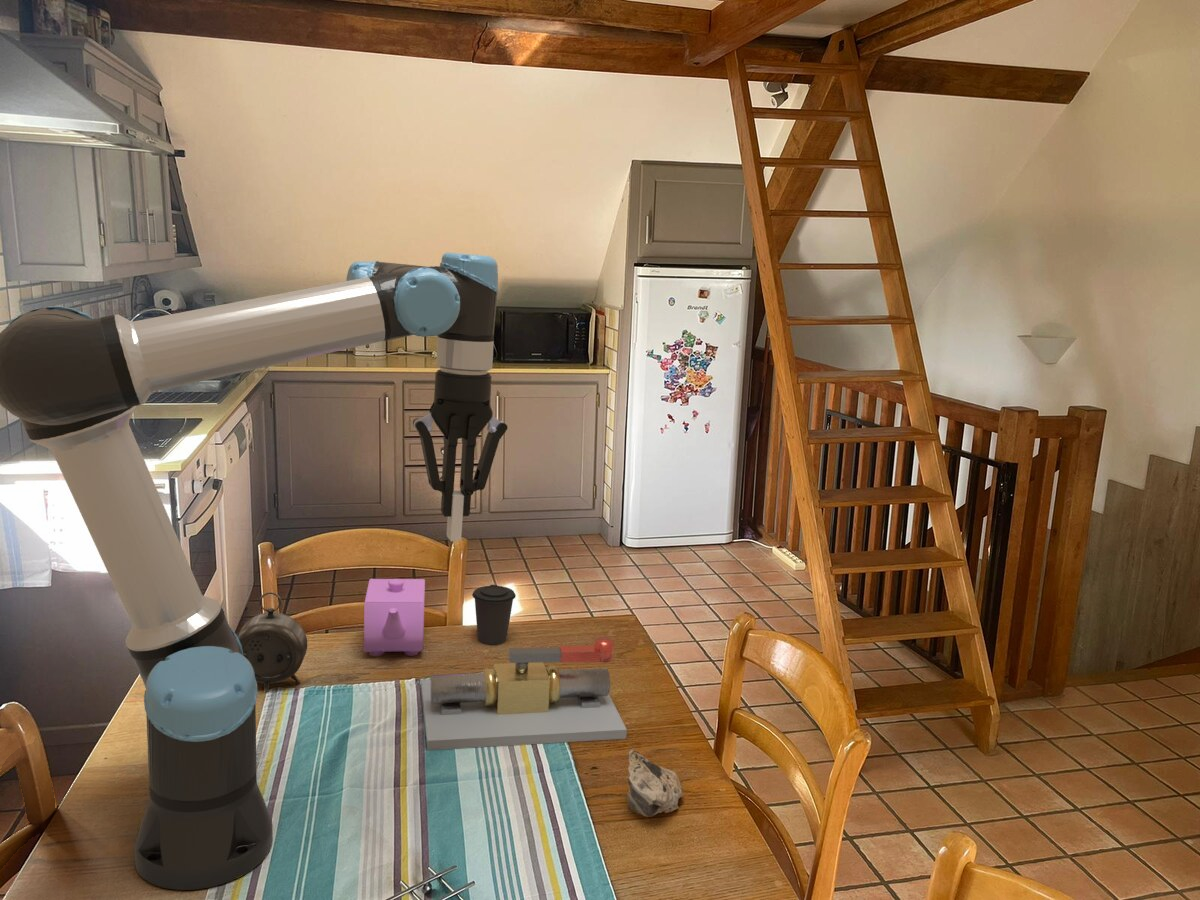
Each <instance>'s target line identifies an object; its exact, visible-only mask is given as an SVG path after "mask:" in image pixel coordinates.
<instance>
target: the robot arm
mask: <svg viewBox="0 0 1200 900" xmlns="http://www.w3.org/2000/svg"><path fill="white" fill-rule="evenodd" d="M498 268H499V267H498V263H497V260H496V259H495V258H494V257H492V256H489V255H479V254H470V253H456V252H446V253H444V254H443V255H442V256H441V262H440V263H439V266H438V265H436V266H424V265H417V264H408V263H407V264H405V263H396V262H395V263H394V262H385V261H383V262H382V261H379V260H373V261H364V260H363V261H354V262H352V263H351V264H350V266H349V268H348V270H347V273H346V280H344V281H340V282H335V283H330V284H324V285H319V286H314V287H309V288H305V289H298V290H292V291H286V292H283V293H282V292H281V293H278V294H273V295H266V296H262V297H261V296H260V297H255V298H250V299H245V300H239V301H234V302H228V303H224V304H220V305H219V304H218V305H213V306H207V307H202V308H197V309H192V310H187V311H182V312H177V313H171V314H166V315H160V316H156V317H150V318H145V319H139V320H135V321H132V320H129V319H127V317H124V316H122V315H120V314H118V313H117V314H112V315H107V316H106V315H105V316H101V317H92V316H90V315H89V314H88V313H85V312H83V311H81V310H77V309H75V308H72V307H65V306H59V305H57V306H54V305H51V306H50V305H49V306H45V307H44V306H43V307H38V308H36V307H35V308H33V309H32V310H28V311H25V312H23V313H21V314H19V315H18V316H16V317H14V319H12V320H11V321H10V322H9V323H8V325H7V326H5V327H4V329H3V330H1V331H0V406H1V407H2V408H4V409H5V410H6V411H7V412H9V413H10V414H12V415H13V416H15V417H17V418H18V419H19V420H20V422H21V423H22V425H23V428H24V430H25V432H26V434H27V436H28V439H29V441H30V442H31V443H34V444H37V445H39V446H41V447H44V448H48V450H50V451H51V452H52V455H53V457H54V460H55V461H56V463H57V465H58V468H59V470H60V472H61V474H62V476H63V478H64V481H65V483H66V485H67V487H68V489H69V491H70V493H71V495H72V497H73V500H74V502H75V505H76V506H77V508H78V511H79V513H80V515H81V517H82V519H83V522H84V524H85V525H86V528H87V530H88V533H89V534H90V537H91V539H92V541H93V543H94V546H95V548H96V549H97V552H98V554H99V556H100V558H101V560H102V562H103V564H104V568H105V569H106V572H107V574H108V576H109V578H110V581H111V582H112V583H113V586H114V589H115V591H116V593H117V596H118V597H119V599H120V601H121V603H122V606H123V608H124V610H125V612H126V614H127V617H128V619H129V621H130V623H131V625H132V626H131V628H130V630H129V631H128V633H127V636H126V638H125V645H126V647H127V649H128V652H129V653H130V656H131V658H132V660H133V662H134V664H135V668H136V669H137V671H138V673H139V675H140V677H141V680H142V682H143V684H144V686H145V690H144V695H143V704H144V712H145V714H146V734H147V739H146V740H147V741H146V742H147V763H148V764H147V765H148V784H149V785H148V786H149V791H148V792H149V798H148V803H147V805H146V808H145V811H144V814H143V817H142V820H141V823H140V826H139V830H138V831H137V834H136V839H135V844H134V860H135V861H134V862H135V863H134V864H135V868H136V869H135V870H136V871H137V873H138V874H139V876H140V877H142V879H144V880H145V881H146V882H148V883H150V884H151V885H153V886H156V887H160V888H163V889H167V890H169V889H170V890H177V891H192V890H193V891H194V890H201V889H207V888H213V887H216V886H219V885H223V884H226V883H229V882H232V881H233V880H236V879H238V878H240V877H242V876H244V875H246V874H247V873H249V872H251V871H252V870H254V869H255V868H256V867H258V866H259V865H260V864H261V863H262V862H263V861H264V860H265V859H266V857H267V856H268V854H269V853H270V852H271V850H272V846H273V841H274V839H273V836H274V833H273V829H274V828H273V821H272V816H271V814H270V812H269V808H268V806H267V804H266V801H265V799H264V796H263V795H262V791H261V790H260V787H259V784H258V781H257V778H258V777H257V775H258V773H257V767H258V766H257V720H256V719H257V717H256V716H257V714H256V713H257V711H256V709H257V708H256V703H257V698H258V682H256V679H255V674H254V670H253V667H252V665H251V663H250V662H249V661H248V660H247V659H246V658H245V657H244V656H243V650H242V646H241V643H240V641H239V639H238V634H236V632H234V630H233V628H232V627H230V624H229V622H228V619H227V617H226V615H225V612H224V611H223V608H222V605H221V603H220V602H219V601H218V600H217V599H215V598H212V597H210V596H205V595H203V594H202V591H201V589H200V587H199V584H198V582H197V580H196V578H195V575H194V572H193V570H192V568H191V566H190V564H189V561H188V558H187V557H186V554H185V552H184V550H183V547H182V544H181V542H180V540H179V538H178V536H177V533H176V531H175V529H174V526H173V524H172V522H171V521H172V520H170V517H169V515H168V512H167V510H166V508H165V506H164V503H163V500H162V498H161V495H160V494H159V491H158V489H157V487H156V485H155V482H154V480H153V477H152V475H151V473H150V470H149V468H148V466H147V463H146V461H145V459H144V456H143V454H142V452H141V449H140V447H139V445H138V443H137V440H136V438H135V435H134V433H133V431H132V428H131V426H130V420H131V418H132V416H133V414H134V412H135V410H136V407H137V406H141V405H145V403H146V402H147V401H148V399H149V398H150V396H151V395H152V394H153V393H155V392H160V391H163V390H168V389H173V388H174V389H175V388H177V387H182V386H186V385H191V384H195V383H199V382H205V381H209V380H214V379H218V378H222V377H227V376H231V375H232V376H233V375H235V374H240V373H241V374H242V373H244V372H249V371H254V370H259V369H262V368H268V367H272V366H276V365H281V364H285V363H289V362H295V361H299V360H303V359H304V360H305V359H307V358H313V357H317V356H321V355H325V354H330V353H334V352H335V353H336V352H339V351H343V350H348V349H353V348H358V347H362V346H366V345H371V344H375V343H379V342H385V341H391V340H397V339H400V338H401V339H402V338H406V337H411V336H415V337H424V338H426V337H435V336H437V347H436V357H435V359H436V361H435V365H436V366H437V367H439V369H438V370H436V372H434V373H435V376H434V393H433V394H434V395H433V402H432V404H431V406H430V408H429V413H427V414H426V415H424V416H422V417H421V418H415V419H413V420H412V425H413V427H414V428H415V431H416V432H417V433H418V435H419V439H420V444H421V448H422V449H421V450H422V455H423V459H424V465H425V470H426V475H427V480H428V484H429V486H430V487H431V489H433V490H434V491H437V492H440V493H441V504H440V512H441V514H442V516H443V517H447V520H446V521H447V522H446V537H447V538H448V540H449V541H450V542H462V533H463V521H464V520H463V518H464V517H469V516H470V514H471V502H472V500H471V499H472V496H473V494H474V492H476V491H483V490H484V489H485V487H486V485H487V482H488V478H489V476H490V472H491V469H492V465H493V463H494V459H495V456H496V454H497V453H496V452H497V449H498V447H499V446H498V445H499V442H500V440H501V439H502V437H503V436H504V435H505V433H507V431H508V425H507V424H506V423H505V422H504V421H502V420H500V419H498V418H496V417H495V416H493V414H494V413H493V410H492V407H491V402H490V401H491V391H492V389H491V388H492V375H491V374H490V373H489V372H490V370H492V369H493V360H494V359H493V358H494V343H495V342H494V339H495V324H496V323H495V322H496V312H497V302H498V301H497V300H498V294H499V290H498V289H499V286H498V285H499V282H498V281H499V273H498V272H499V270H498ZM433 422H434V423H435V425H436V426H437V427H438V429H439V431H440V432H441V434H442V435H443V454H442V468H441V469H442V474H441V477H440V473H439V468H438V462H437V458H436V456H437V455H436V453H435V447H434V441H433V437H432V435H431V432H432V431H433ZM486 426H487V427H486ZM485 427H486V428H487V431H488V432H487V434H486V437H485V440H484V443H483V447H482V450H481V453H480V456H479V459H478V463H477V466H476V469H475V470H474V466H475V454H476V453H475V452H476V446H477V437H478V436H479V434H480V433H482V431H483V430H484V428H485ZM459 439H461V444H462V445H461V461H460V480H459V488H460V490H455V476H456V475H455V474H456V460H457V446H458V441H459ZM474 471H475V472H474ZM440 478H441V479H440Z"/></svg>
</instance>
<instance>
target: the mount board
mask: <svg viewBox="0 0 1200 900" xmlns="http://www.w3.org/2000/svg"><path fill="white" fill-rule="evenodd" d="M430 680H431V678H430V679H421V680H420V683H421V684H420V694H421V702H422V703H421V704H422V712H423V720H424V721H423V723H424V731H425V734H424V735H425V743H426V750H427V751H437V750H438V751H439V750H440V751H441V750H452V749H453V750H454V749H470V748H471V749H472V748H487V747H505V746H506V747H507V746H523V745H541V744H557V743H577V742H594V741H606V740H607V741H611V740H626V739H627V735H628V734H627V732H628V730H627V727H626V725H625V723H624V721H623V720H622V717H621V715H620V713H619V712H618V709H617V707H616V705H615V704H614V701H613V700H612V698H611V696H610V694H609V695H608V696H598V698H599V700H600V707H597V708H581V706H580V703H579V701H578V699H577V697H575V698H560V699H559V702H558V703H549V707H548V712H540V713H520V714H500V715H497V712H496V708H495V706H484V704H483V702H469V703H460V704H461V714H456V715H441V709H440V704H431V699H430Z"/></svg>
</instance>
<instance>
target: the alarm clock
mask: <svg viewBox="0 0 1200 900" xmlns="http://www.w3.org/2000/svg"><path fill="white" fill-rule="evenodd" d="M267 595H273V596H276V597H277V599H278V600H279V601H278V602H279V604H278V606H277V607H275V608H273V607H269V608H267V609H266V608H265V607H264V606H263V604H262V599H263V598H264V597H265V596H267ZM258 602H259V607H260V608H261V610H263V611H265V612H262V613H259V614H257V615H254V616H253V617H251V618H250V619H249V620H248V621H246V622H245V624H244V625H243V626H242V627H241V629H240V631H239V633H238V634H237V637H238V639H239V641H240V643H241V646H242V650H243V656H244V657H245V658H246V659H247V660H248V661H249V662H250V663H251V665H252V667H253V670H254V674H255V679H256V683H260V684H264V688H263V689H264V690H263V691H264V692H265V693H267V692H269V690H270V689H269V688H270V684H272V685H273V684H277V683H281V682H284V681H286V680H288V679H290V678H291V679H292V680H293V681H294V683H295V684H296V685H299V684H300V679H298V677H297V675H296V673H297V672H298V671H299V669H300V668H301V666H302V663H303V661H304V658H305V656H306V654H307V651H308V638H307V635H306V632H305V630H304V629H303V627H302V626H301V624H300V623H299V622H298V621H296V620H295V619H294V618H293V617H291V616H289V615H286V614H284V613H279V612H276V611H277V610H278V609H279V608H281V605H282V598H281V597H280V595H279V594H278V593H276V592H273V591H268V592H265V593H263V594H261V596H260V597H259V601H258Z"/></svg>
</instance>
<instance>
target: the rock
mask: <svg viewBox="0 0 1200 900" xmlns="http://www.w3.org/2000/svg"><path fill="white" fill-rule="evenodd" d="M628 762H629V765H628V767H627V768H628V770H627V771H628V773H629V777H628V780H627V782H628V785H629V790H628V791H627V795H626V798H627V802H628V807H629V810H631V811H632V812H634V813H636V814H638V815H641V816H644V817H646V818H649V817H651V818H652V817H654V816H655V815H658V814H661V813H665V814H667V813H668V814H669V813H673V811H675V810H677V809H679V805H678V804H679V799H680V798H682V797H684V796H685V795H684V794H683V790H684V787H683V785H682V783H681V781H680V778H679V776H678V774H677V772H676V771H673V770H671V769H668V768H666V767H664V766H659V765H657V764H654V763H652V761H650V760H649V759H648V758H646V756H645V755H643V754H641V753H640V752H639V751H636V750H635V748H631V749H629V752H628Z"/></svg>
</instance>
